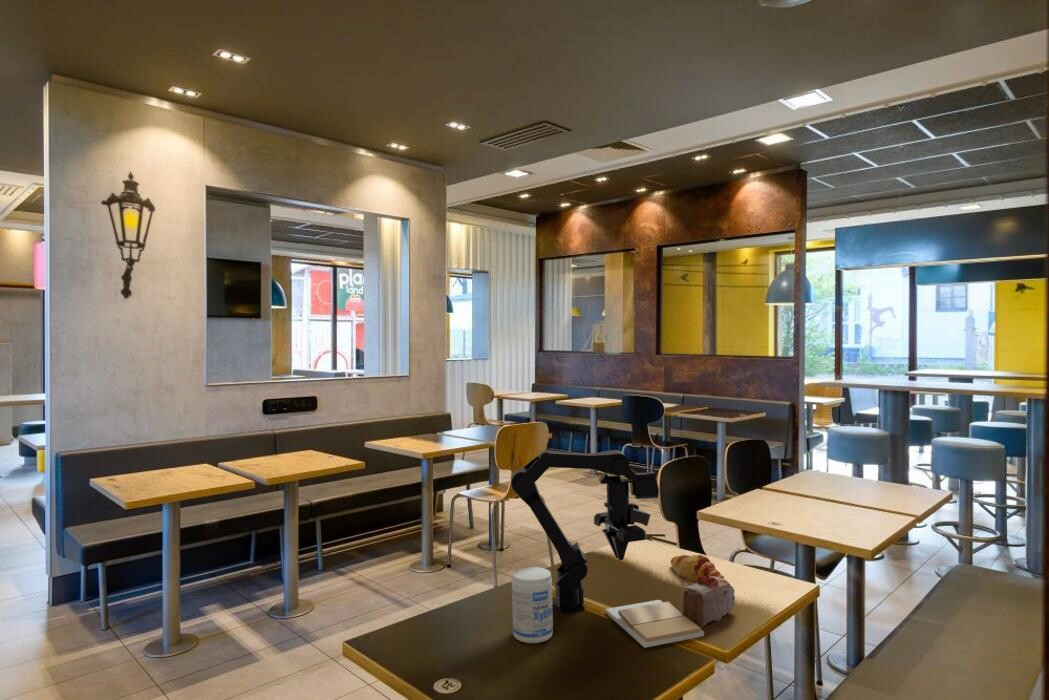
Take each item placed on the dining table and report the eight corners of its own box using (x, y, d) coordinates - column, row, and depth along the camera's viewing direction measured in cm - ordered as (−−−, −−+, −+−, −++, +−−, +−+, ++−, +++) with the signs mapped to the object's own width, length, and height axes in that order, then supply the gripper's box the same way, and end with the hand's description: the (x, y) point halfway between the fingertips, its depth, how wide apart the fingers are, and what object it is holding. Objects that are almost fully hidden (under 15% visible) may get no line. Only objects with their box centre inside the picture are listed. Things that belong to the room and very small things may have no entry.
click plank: (631, 628, 148) (631, 624, 148) (618, 614, 155) (618, 610, 155) (683, 619, 153) (683, 615, 153) (668, 605, 159) (668, 601, 159)
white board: (644, 647, 141) (644, 638, 141) (605, 612, 160) (605, 605, 160) (704, 636, 146) (703, 627, 146) (659, 603, 165) (659, 595, 165)
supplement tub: (541, 648, 142) (539, 583, 142) (505, 639, 147) (503, 577, 147) (560, 631, 151) (558, 569, 150) (525, 623, 155) (524, 564, 155)
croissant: (664, 579, 191) (654, 558, 190) (686, 558, 196) (676, 537, 194) (717, 601, 173) (705, 578, 171) (739, 577, 177) (728, 554, 176)
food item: (709, 603, 164) (708, 566, 164) (737, 613, 158) (736, 573, 158) (679, 620, 155) (678, 580, 155) (708, 630, 149) (707, 588, 149)
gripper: (663, 504, 158) (665, 566, 158) (628, 489, 176) (630, 545, 176) (623, 509, 155) (625, 572, 155) (592, 493, 172) (594, 550, 172)
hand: (619, 559), depth 165 cm, fingers closed
